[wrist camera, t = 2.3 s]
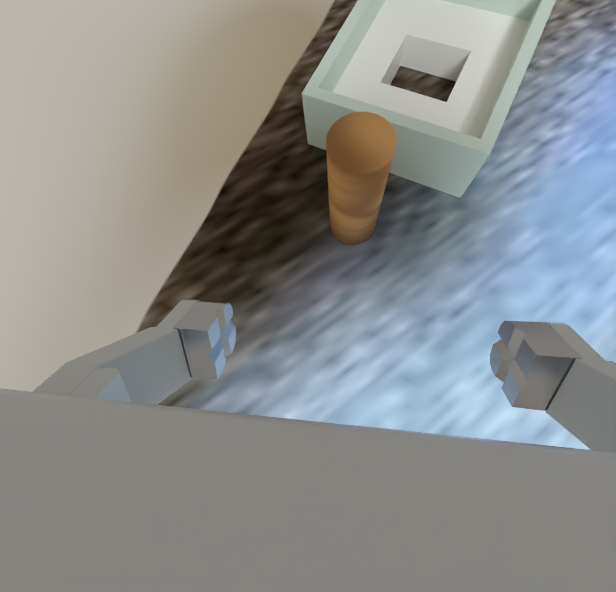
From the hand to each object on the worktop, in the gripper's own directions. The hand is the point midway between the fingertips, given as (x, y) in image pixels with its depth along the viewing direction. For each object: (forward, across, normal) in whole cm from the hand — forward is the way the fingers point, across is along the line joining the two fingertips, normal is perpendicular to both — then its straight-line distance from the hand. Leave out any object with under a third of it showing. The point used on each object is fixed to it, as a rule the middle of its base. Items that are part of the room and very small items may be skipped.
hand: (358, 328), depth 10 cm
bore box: (+29, -6, -7) cm, 31 cm away
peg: (+19, 0, +3) cm, 19 cm away
